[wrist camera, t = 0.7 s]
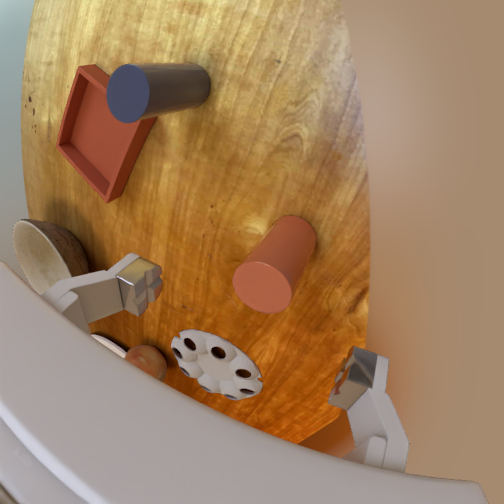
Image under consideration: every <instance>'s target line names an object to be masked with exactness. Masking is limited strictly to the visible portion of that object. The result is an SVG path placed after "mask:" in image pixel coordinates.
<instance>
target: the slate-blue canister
mask: <svg viewBox="0 0 504 504" xmlns="http://www.w3.org/2000/svg"><path fill="white" fill-rule="evenodd" d="M209 91H210V80H209V76H208V74H207V72H206V71H205V70H204V69H203V68H202V67H201V66H199V65H197V64H194V63H134V64H125V65H122V66H120V67H119V68H117V69H116V70H115V71H114V73H113V74H112V75H111V77H110V79H109V82H108V85H107V92H106V98H107V104H108V107H109V110H110V112H111V113H112V115H113V116H114V117H115V118H116V119H117V120H118V121H120V122H123V123H133V122H137V121H141V120H145V119H149V118H153V117H157V116H161V115H166V114H170V113H175V112H180V111H185V110H190V109H194V108H197V107H199V106H200V105H202V104H203V103H204V101H205V100H206V98H207V97H208V94H209Z"/></svg>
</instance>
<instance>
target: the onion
mask: <svg viewBox="0 0 504 504" xmlns="http://www.w3.org/2000/svg"><path fill="white" fill-rule="evenodd" d="M124 359H126V360H127V361H129V362H130V363H132V364H133V365H135V366H136V367H138V368H140V369H141V370H143V371H145V372H146V373H148V374H149V375H151V376H153V377H154V378H156V379H158V380H160V381H161V382H162V381H163V380H164V378H165V376H166V372H167V363H166V360H165V358H164V357H163V356H162V354H161V353H160V352H159V350H158V349H157V348H155V347H153V346H149V345H138V346H135V347H133V348H131V349H130V350H129V351H128V352H127V353H126V355H125V358H124Z"/></svg>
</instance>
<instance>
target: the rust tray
mask: <svg viewBox="0 0 504 504" xmlns="http://www.w3.org/2000/svg"><path fill="white" fill-rule="evenodd" d="M109 79H110V76H109V75H107V74H106V73H105V72H104V71H102V70H101V69H100V68H98V67H97V66H96V65H95V64H93V65H84V66H79V67H78V70H77V72H76V75H75V78H74V81H73V84H72V87H71V91H70V94H69V97H68V100H67V104H66V107H65V111H64V115H63V119H62V122H61V126H60V131H59V135H58V139H57V144H56V148H57V149H58V150H59V151H60V152H61V153H62V155H63V156H64V157H65V158H66V159H67V160H68V161H69V163H70V164H71V165H72V166H73V167H74V168H75V169H76V170H77V172H78V173H79V174H80V175H81V176H82V177H83V178H84V179H85V180H86V181H87V183H88V184H89V185H90V186H91V187H92V188H93V189H94V190H95V191H96V192H97V193H98V194H99V195H100V197H101V198H102V199H103V200H104V201H105V202H106V203H109V202H111V201H113V200H114V199H116V198H118V197H120V196H121V194H122V192H123V189H124V187H125V184H126V182H127V180H128V177H129V175H130V173H131V170H132V168H133V166H134V163H135V161H136V159H137V157H138V155H139V152H140V150H141V148H142V146H143V144H144V142H145V140H146V138H147V135H148V133H149V131H150V129H151V127H152V125H153V123H154V121H155V119H156V118H157V117H153V118H149V119H145V120H141V121H137V122H133V123H123V122H120V121H118V120H117V119H116V118H115V117H114V116H113V115H112V113H111V112H110V110H109V107H108V104H107V98H106V92H107V85H108V82H109Z"/></svg>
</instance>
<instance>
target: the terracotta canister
mask: <svg viewBox="0 0 504 504" xmlns="http://www.w3.org/2000/svg"><path fill="white" fill-rule="evenodd" d="M316 245H317V237H316V233H315V231H314V229H313V227H312V226H311V225H310V224H309V223H308V222H307V221H306V220H304V219H302V218H300V217H297V216H283V217H281V218H279V219H277V220H276V221H275V222H274V223H273V224H272V226H271V227H270V228H269V229H268V231H267V232H266V233H265V234H264V236H263V237H262V238H261V239H260V241H259V242H258V243H257V244H256V246H255V247H254V248H253V249H252V251H251V252H250V253H249V254H248V255H247V257H246V258H245V259H244V260H243V262H242V263H241V264H240V265H239V267H238V268H237V269H236V271H235V272H234V275H233V286H234V289H235V292H236V294H237V295H238V297H239V298H240V299H241V300H242V301H243V302H244V303H245V304H246V305H247V306H249V307H250V308H252V309H254V310H256V311H259V312H263V313H277V312H280V311H282V310H284V309H285V308H286V307H287V306H288V305H289V304H290V302H291V300H292V298H293V295H294V293H295V291H296V289H297V287H298V285H299V283H300V281H301V279H302V276H303V274H304V272H305V270H306V268H307V266H308V263H309V261H310V259H311V257H312V255H313V252H314V250H315V248H316Z"/></svg>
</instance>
